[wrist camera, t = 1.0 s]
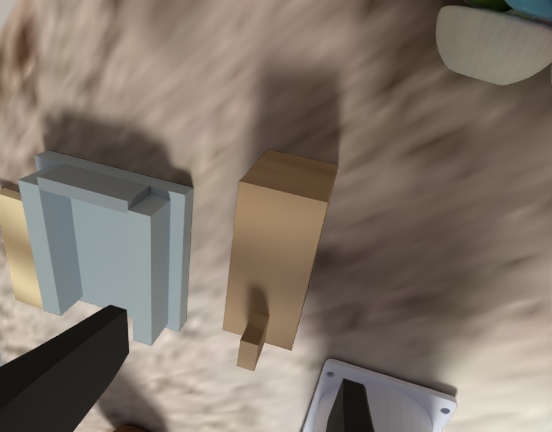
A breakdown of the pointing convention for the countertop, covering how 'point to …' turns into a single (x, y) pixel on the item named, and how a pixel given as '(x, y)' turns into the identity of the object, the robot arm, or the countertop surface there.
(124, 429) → the wooden figurine
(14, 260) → the plank
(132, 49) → the countertop surface
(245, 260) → the tan pegged block
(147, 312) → the jig
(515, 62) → the rainbow segmented toy
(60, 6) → the countertop surface
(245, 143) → the countertop surface
